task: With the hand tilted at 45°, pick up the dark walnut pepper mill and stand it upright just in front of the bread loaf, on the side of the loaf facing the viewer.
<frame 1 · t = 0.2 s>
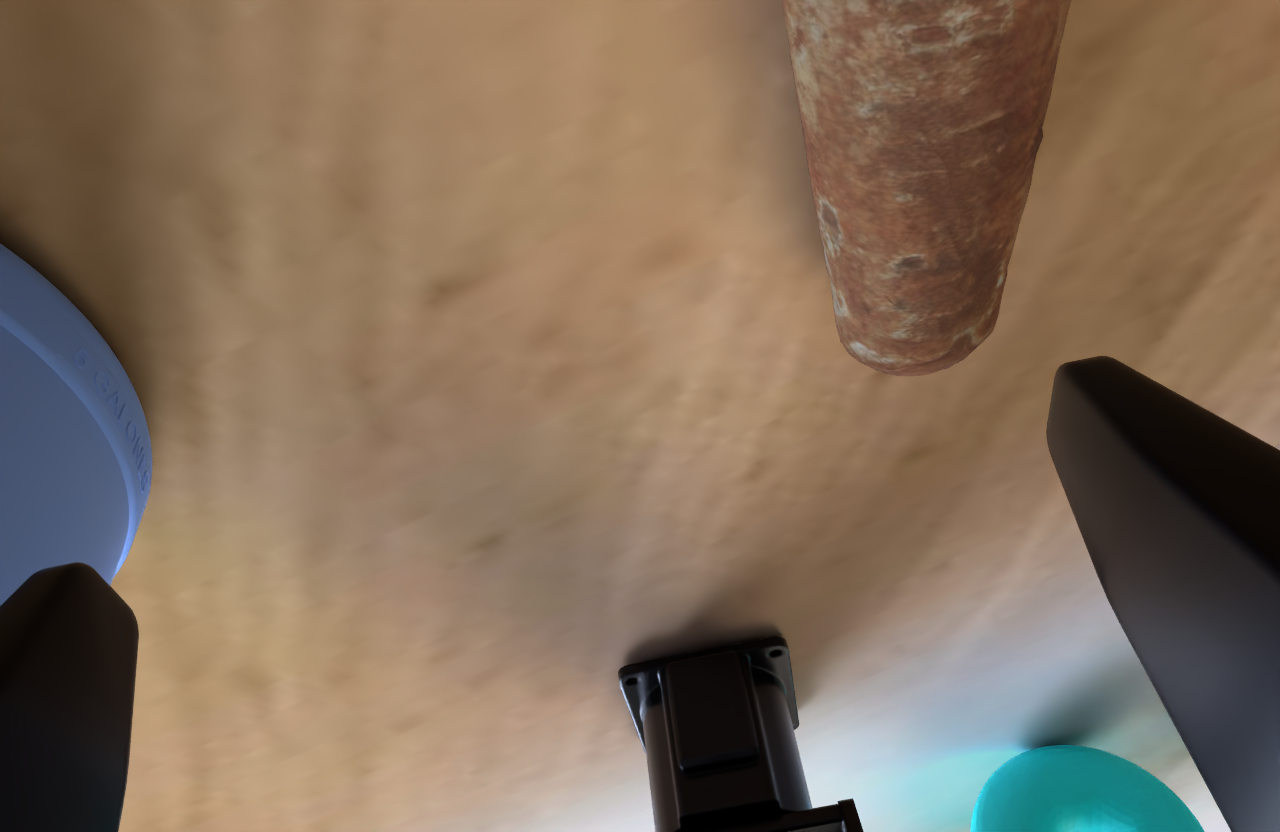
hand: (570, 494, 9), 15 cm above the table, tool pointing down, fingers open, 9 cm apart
donuts: (1026, 781, 48), on the table
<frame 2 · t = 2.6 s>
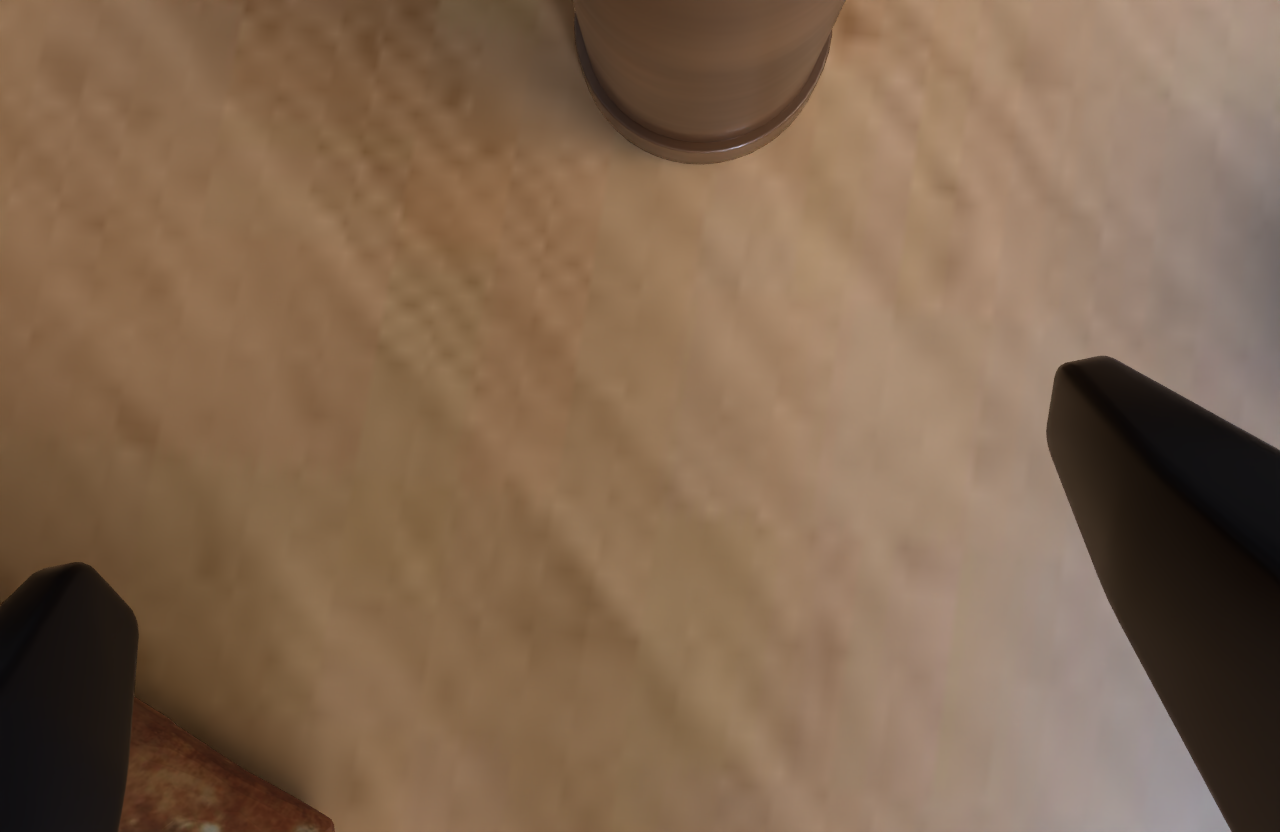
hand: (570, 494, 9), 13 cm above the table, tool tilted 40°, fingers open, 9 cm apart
bread: (10, 661, 23), on the table
pepper mill: (701, 40, 21), on the table
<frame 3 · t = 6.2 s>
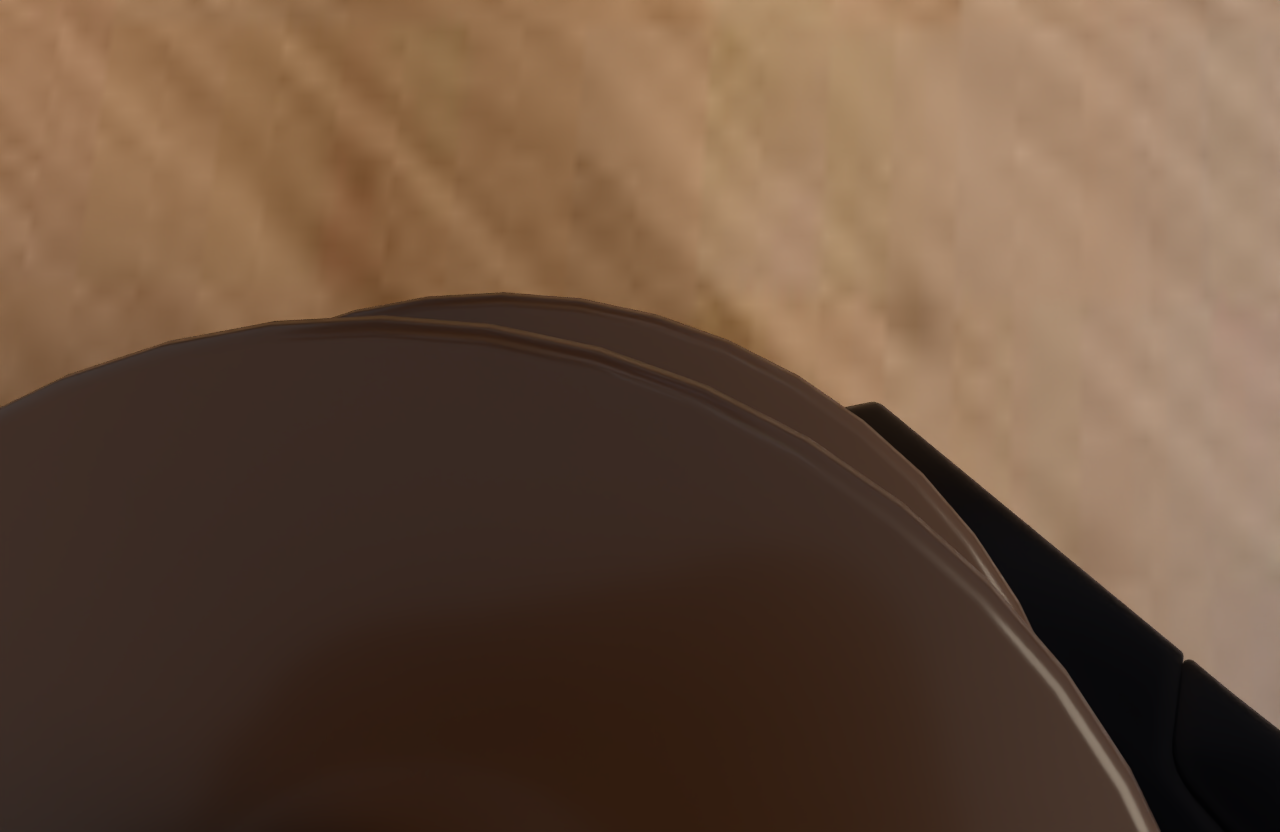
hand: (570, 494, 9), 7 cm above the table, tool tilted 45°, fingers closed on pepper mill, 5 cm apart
pepper mill: (639, 552, 16), on the table, touching gripper
when the fingers open (7 cm above the table, at t = 12.5 s): pepper mill stays where it is, on the table.
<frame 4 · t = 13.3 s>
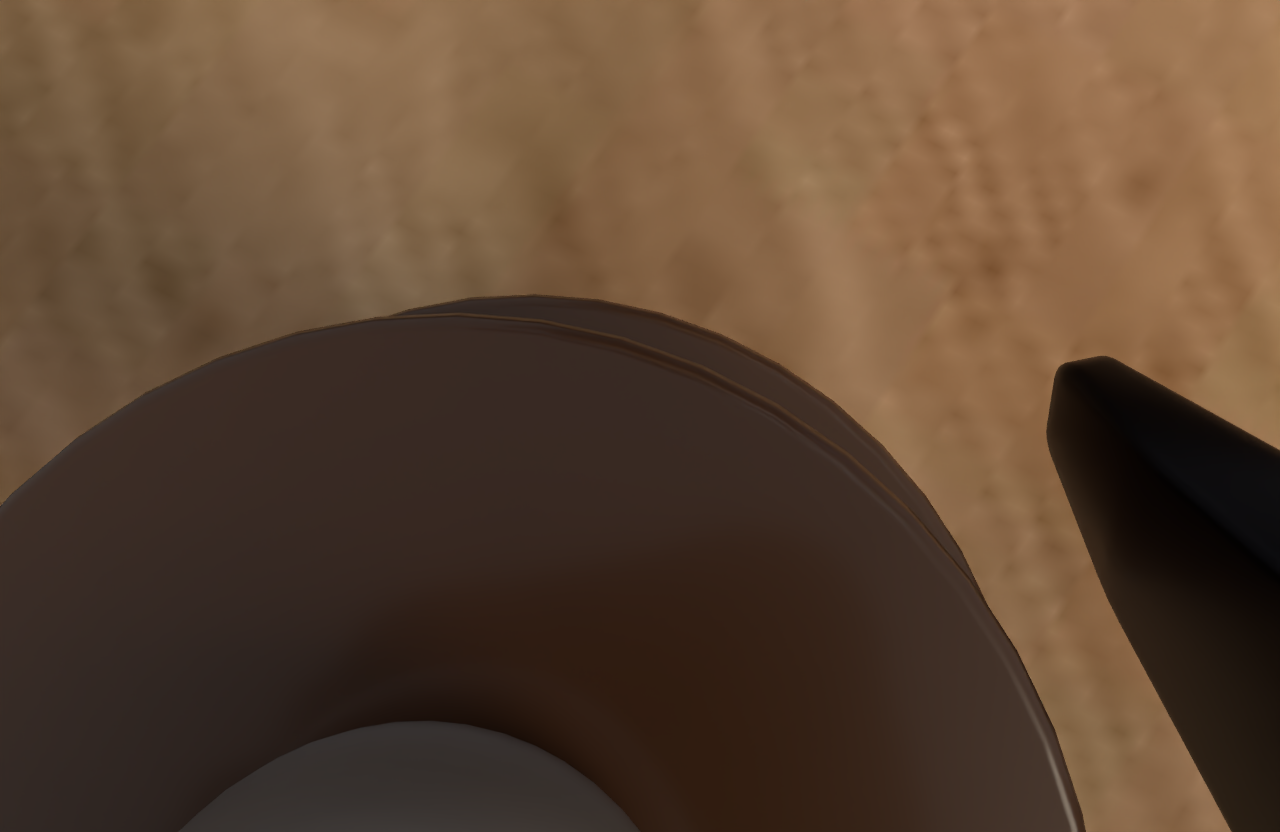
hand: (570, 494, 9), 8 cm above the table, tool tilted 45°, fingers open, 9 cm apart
pepper mill: (640, 539, 17), on the table
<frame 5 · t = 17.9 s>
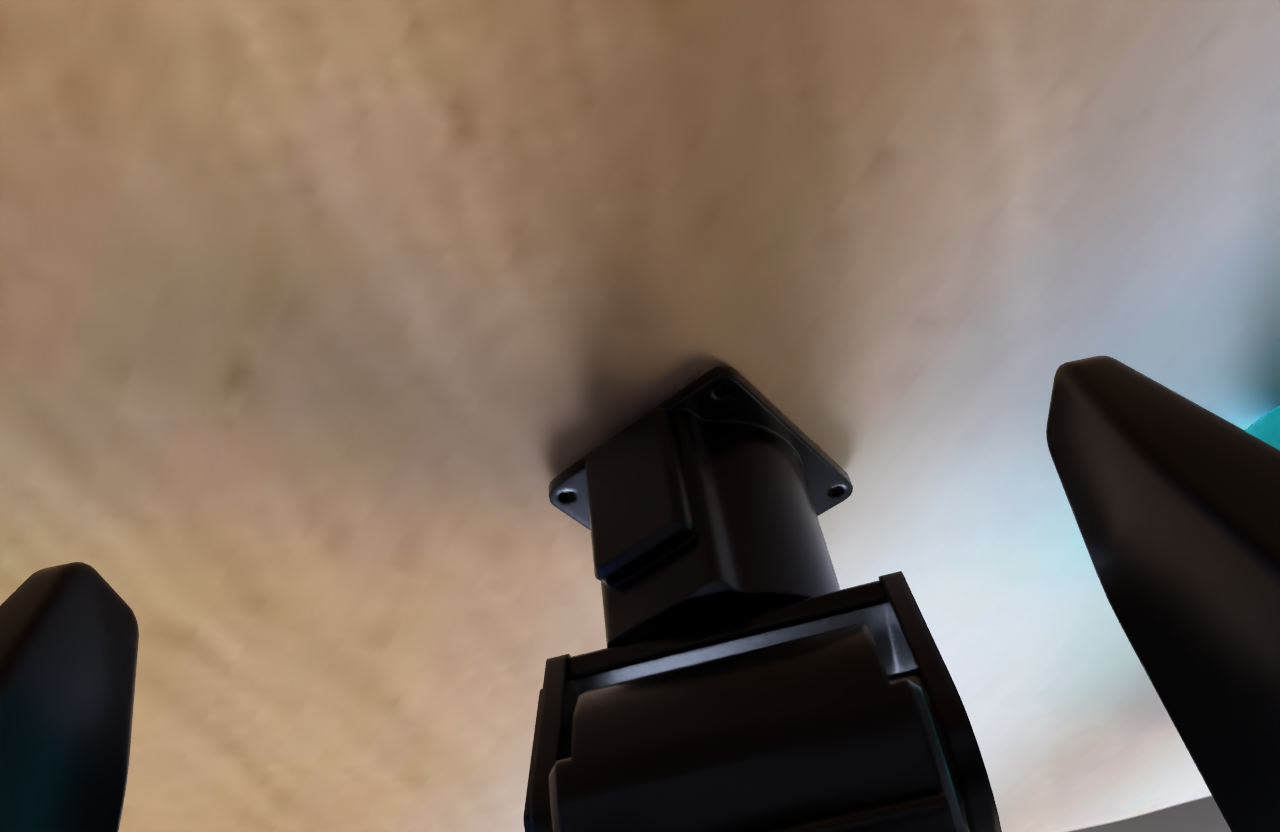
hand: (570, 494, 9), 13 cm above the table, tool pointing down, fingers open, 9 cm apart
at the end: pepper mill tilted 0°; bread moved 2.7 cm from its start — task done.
